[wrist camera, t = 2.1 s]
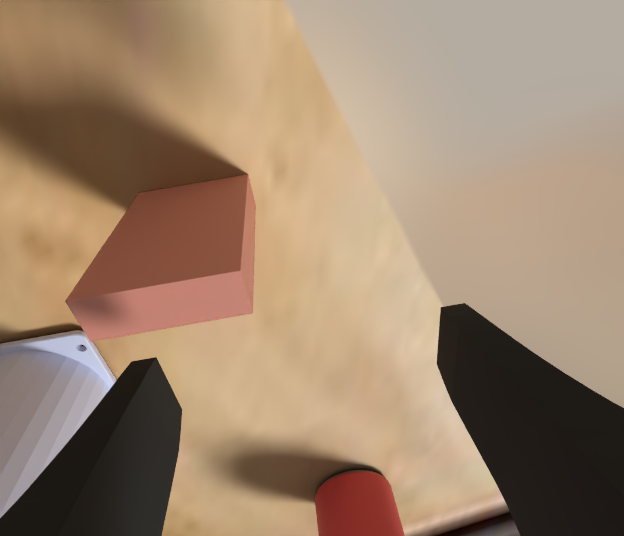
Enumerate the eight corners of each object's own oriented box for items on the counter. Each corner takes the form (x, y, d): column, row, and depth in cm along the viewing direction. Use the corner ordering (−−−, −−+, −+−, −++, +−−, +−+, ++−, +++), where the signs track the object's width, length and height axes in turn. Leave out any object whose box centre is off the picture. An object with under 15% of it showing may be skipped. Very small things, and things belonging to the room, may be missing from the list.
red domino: (255, 206, 19) (252, 313, 12) (151, 224, 19) (90, 341, 12) (247, 174, 18) (240, 270, 11) (138, 192, 18) (65, 301, 11)
